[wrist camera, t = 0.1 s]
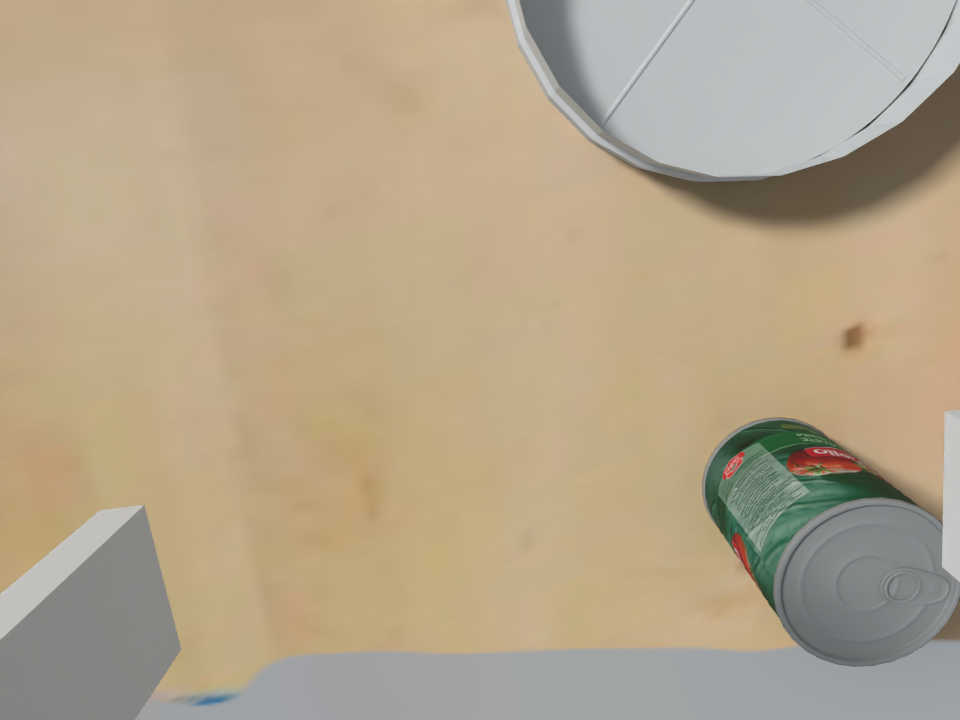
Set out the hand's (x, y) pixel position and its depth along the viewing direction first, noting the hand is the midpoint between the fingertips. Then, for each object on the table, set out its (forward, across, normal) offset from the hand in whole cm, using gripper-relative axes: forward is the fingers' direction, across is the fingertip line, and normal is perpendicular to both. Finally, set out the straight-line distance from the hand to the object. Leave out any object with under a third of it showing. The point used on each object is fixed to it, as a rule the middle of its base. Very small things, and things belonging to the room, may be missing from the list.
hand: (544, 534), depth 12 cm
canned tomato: (+28, +14, -13) cm, 34 cm away
